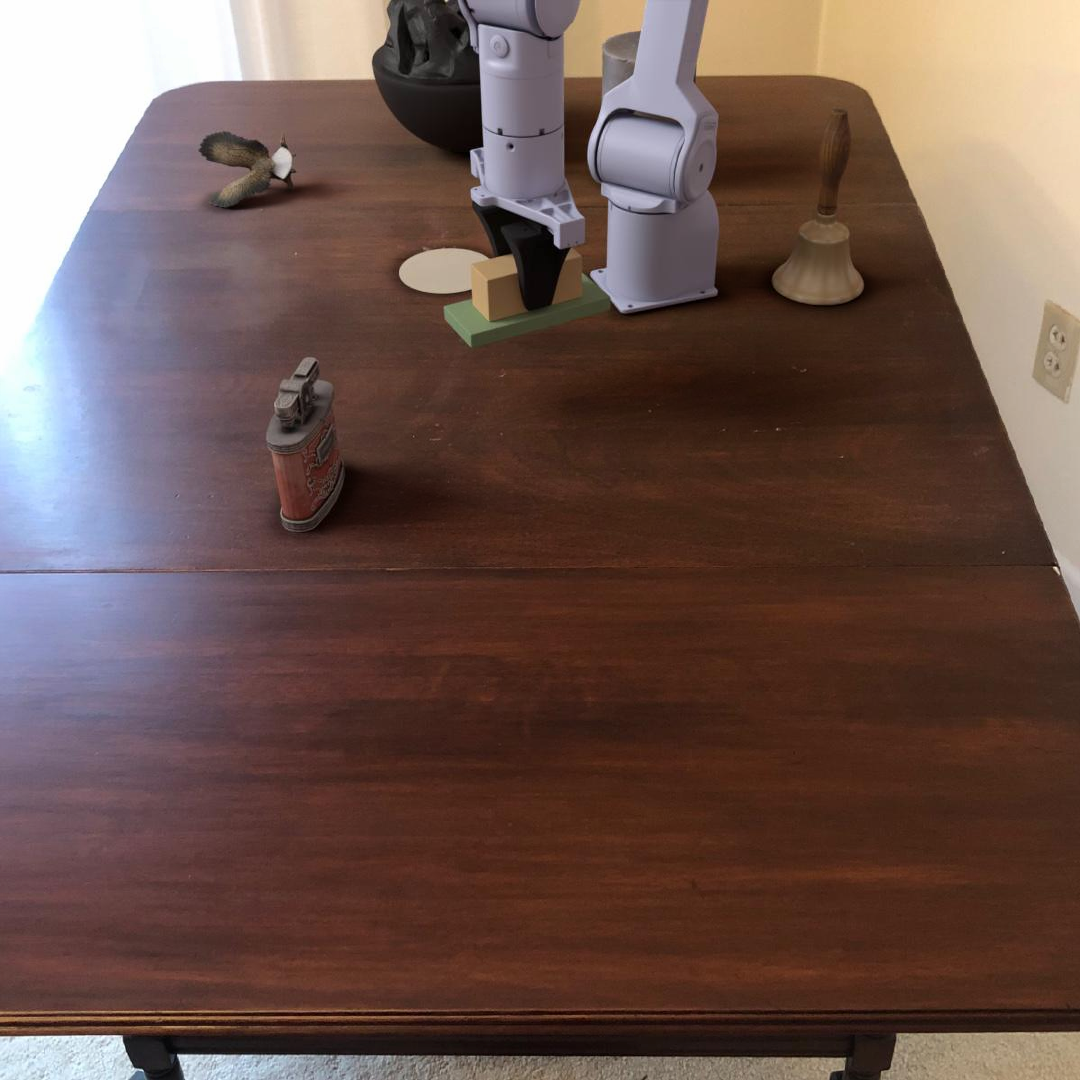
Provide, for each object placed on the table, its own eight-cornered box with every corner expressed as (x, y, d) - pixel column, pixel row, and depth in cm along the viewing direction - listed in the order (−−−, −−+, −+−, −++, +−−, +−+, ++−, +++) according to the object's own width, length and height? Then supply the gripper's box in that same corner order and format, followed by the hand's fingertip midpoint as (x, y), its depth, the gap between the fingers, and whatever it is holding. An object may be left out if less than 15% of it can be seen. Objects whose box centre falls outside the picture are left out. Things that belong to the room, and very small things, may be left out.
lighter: (317, 534, 85) (298, 415, 79) (271, 528, 86) (248, 409, 79) (354, 467, 91) (338, 351, 85) (311, 462, 92) (292, 346, 85)
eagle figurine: (276, 158, 133) (193, 159, 129) (290, 115, 127) (203, 114, 123) (294, 218, 131) (210, 220, 127) (308, 176, 125) (221, 178, 121)
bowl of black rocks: (343, 155, 136) (322, -24, 124) (453, 100, 149) (443, -67, 137) (487, 197, 127) (479, 9, 115) (591, 135, 140) (593, -41, 128)
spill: (477, 242, 120) (477, 242, 119) (507, 283, 113) (507, 283, 113) (388, 258, 117) (388, 257, 117) (413, 300, 111) (413, 300, 111)
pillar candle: (705, 169, 132) (716, 25, 123) (662, 202, 126) (670, 53, 116) (626, 151, 136) (631, 11, 127) (582, 182, 130) (583, 37, 120)
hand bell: (761, 296, 110) (782, 122, 100) (783, 257, 116) (804, 88, 106) (853, 313, 108) (884, 136, 98) (871, 271, 114) (901, 100, 104)
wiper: (610, 310, 95) (612, 255, 92) (471, 349, 91) (468, 292, 88) (579, 283, 99) (580, 229, 96) (444, 319, 95) (440, 264, 92)
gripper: (429, 99, 89) (441, 268, 98) (518, 170, 79) (523, 352, 88) (515, 82, 91) (520, 249, 100) (613, 149, 81) (608, 328, 90)
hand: (527, 296), depth 94 cm, fingers closed on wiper, 3 cm apart
